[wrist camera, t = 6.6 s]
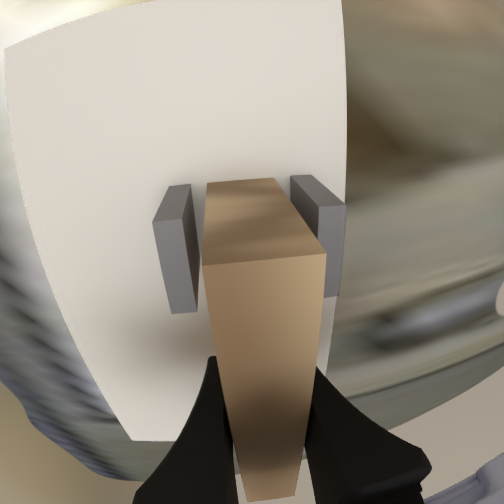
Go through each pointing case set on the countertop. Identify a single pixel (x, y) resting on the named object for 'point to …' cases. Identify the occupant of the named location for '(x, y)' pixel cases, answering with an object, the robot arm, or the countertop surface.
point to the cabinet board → (170, 172)
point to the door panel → (263, 325)
